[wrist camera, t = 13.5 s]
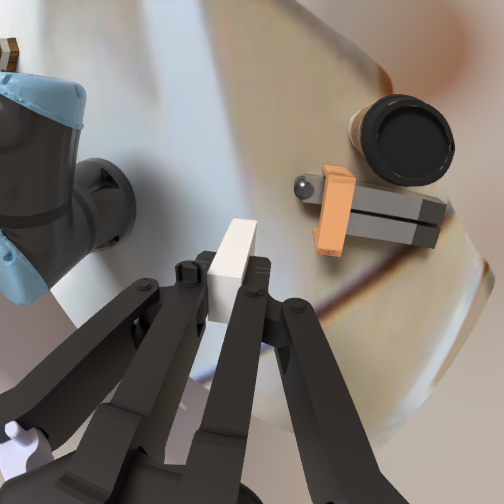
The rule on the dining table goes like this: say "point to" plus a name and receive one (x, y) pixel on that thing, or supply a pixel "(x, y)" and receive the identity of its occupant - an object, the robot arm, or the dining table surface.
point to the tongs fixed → (376, 199)
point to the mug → (8, 55)
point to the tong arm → (392, 228)
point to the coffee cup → (403, 140)
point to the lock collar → (334, 211)
